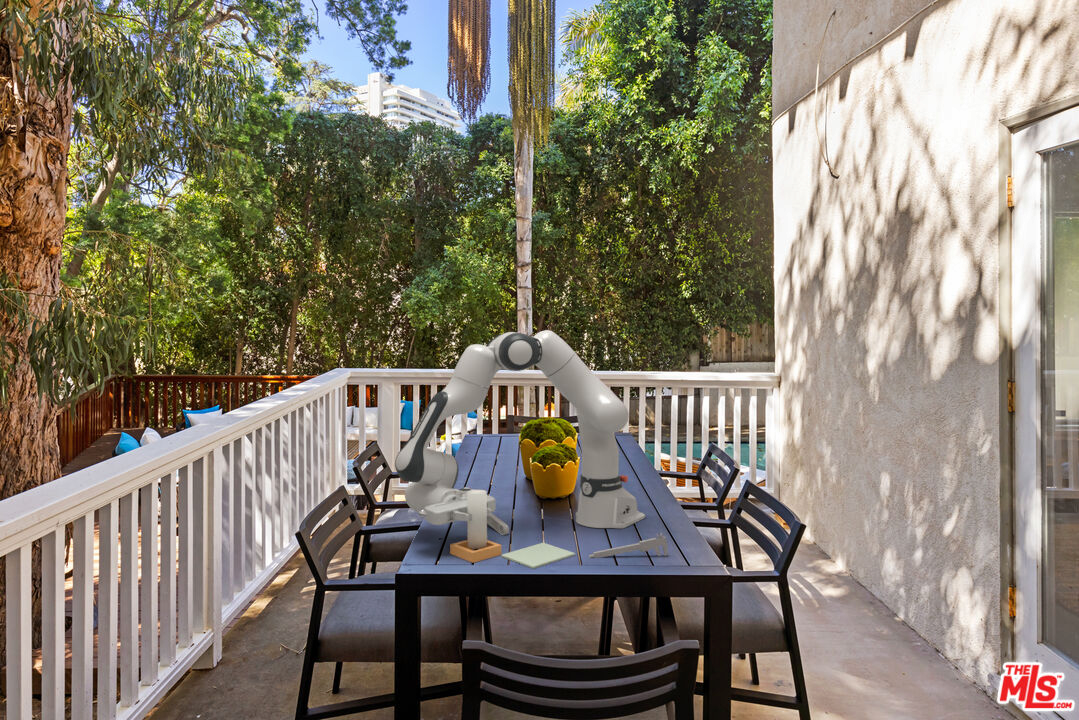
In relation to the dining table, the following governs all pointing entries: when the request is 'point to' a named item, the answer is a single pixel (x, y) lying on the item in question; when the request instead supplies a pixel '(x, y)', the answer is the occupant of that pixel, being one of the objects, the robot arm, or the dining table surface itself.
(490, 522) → the wrench
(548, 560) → the mat
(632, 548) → the caliper
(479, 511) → the tall white pillar
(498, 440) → the dining table surface
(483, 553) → the orange square frame
